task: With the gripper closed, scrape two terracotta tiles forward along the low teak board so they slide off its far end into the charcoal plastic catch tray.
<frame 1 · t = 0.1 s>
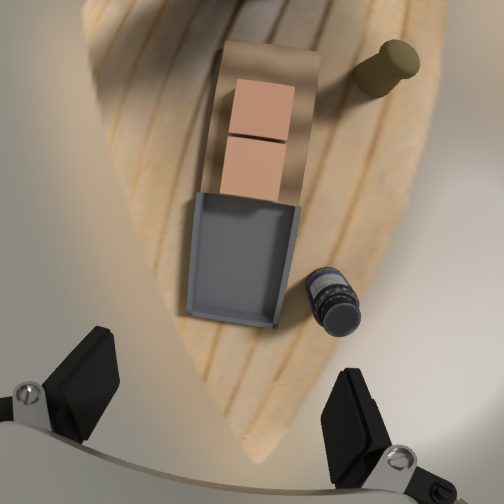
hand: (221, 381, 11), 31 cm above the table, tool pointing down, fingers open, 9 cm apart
pill bottle: (324, 284, 43), on the table
board: (261, 119, 36), on the table
cork: (373, 78, 34), on the table
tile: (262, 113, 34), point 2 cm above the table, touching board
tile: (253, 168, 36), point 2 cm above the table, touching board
tray: (240, 258, 42), on the table
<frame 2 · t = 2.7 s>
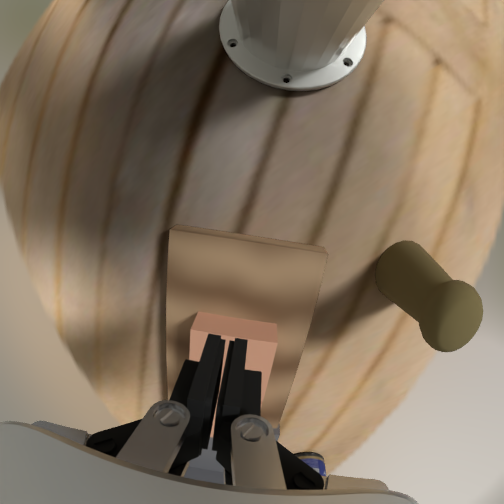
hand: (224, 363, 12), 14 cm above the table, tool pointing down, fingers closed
pill bottle: (303, 459, 35), on the table
board: (234, 341, 28), on the table
cork: (402, 270, 25), on the table
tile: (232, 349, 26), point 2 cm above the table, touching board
tray: (219, 446, 34), on the table
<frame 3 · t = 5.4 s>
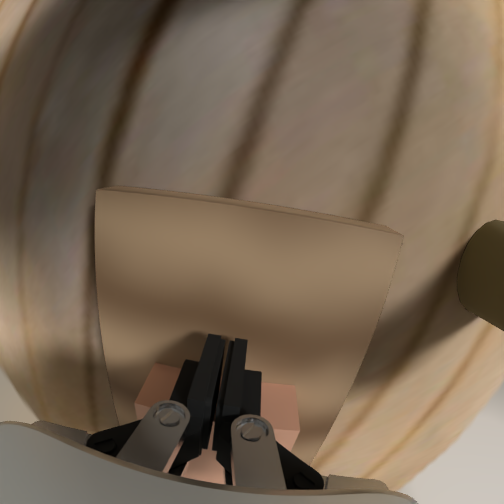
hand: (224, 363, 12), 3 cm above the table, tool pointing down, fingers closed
board: (223, 389, 16), on the table
cork: (489, 267, 13), on the table
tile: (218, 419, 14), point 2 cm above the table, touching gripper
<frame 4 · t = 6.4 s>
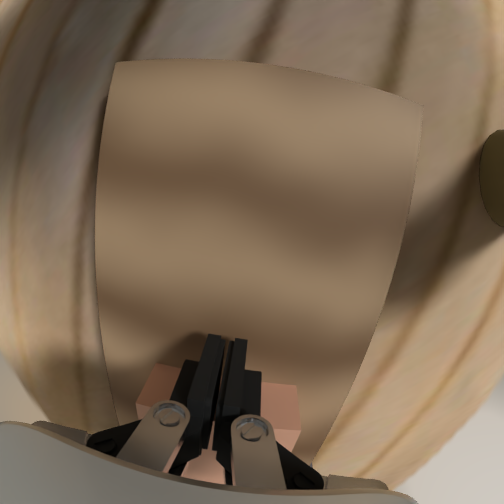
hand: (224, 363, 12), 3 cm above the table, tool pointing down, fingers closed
board: (234, 309, 14), on the table
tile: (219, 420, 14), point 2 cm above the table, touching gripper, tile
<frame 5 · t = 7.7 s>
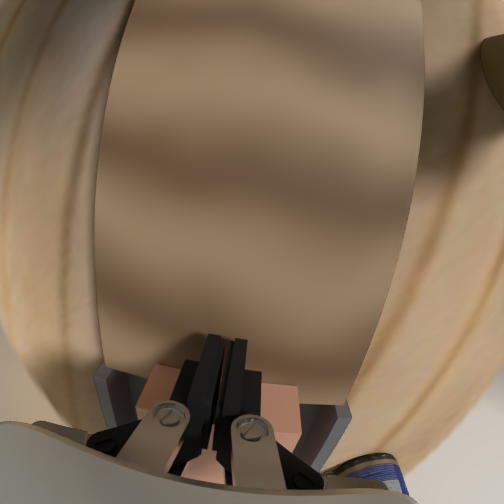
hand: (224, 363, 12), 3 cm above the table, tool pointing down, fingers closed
pill bottle: (363, 467, 19), on the table
board: (255, 164, 12), on the table
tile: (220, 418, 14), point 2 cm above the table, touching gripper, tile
tray: (215, 452, 18), on the table
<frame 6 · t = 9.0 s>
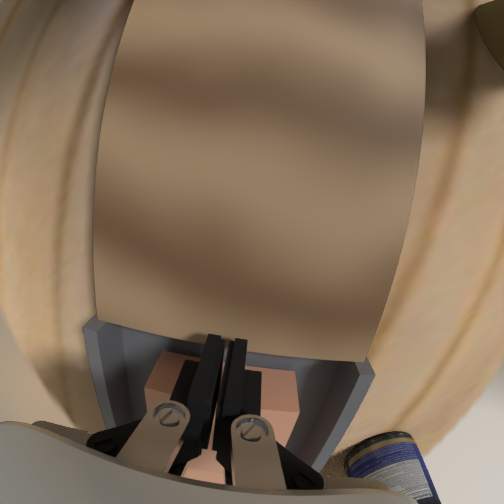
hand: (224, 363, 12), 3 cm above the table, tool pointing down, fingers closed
pill bottle: (378, 449, 18), on the table
board: (266, 96, 11), on the table
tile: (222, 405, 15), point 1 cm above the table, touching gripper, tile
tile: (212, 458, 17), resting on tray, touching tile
tray: (218, 431, 17), on the table
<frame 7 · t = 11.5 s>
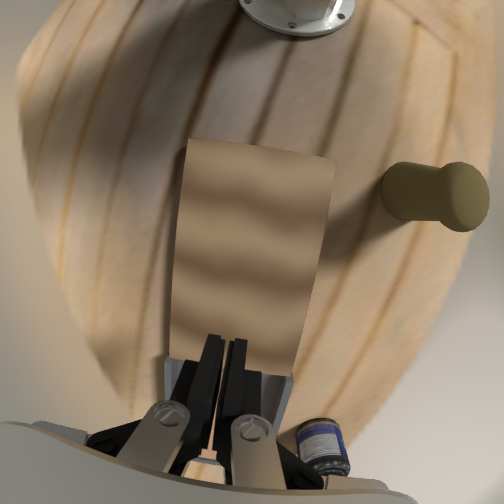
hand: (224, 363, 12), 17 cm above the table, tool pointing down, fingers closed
pill bottle: (317, 429, 33), on the table
board: (244, 264, 28), on the table
cork: (406, 191, 26), on the table
tray: (223, 412, 33), on the table
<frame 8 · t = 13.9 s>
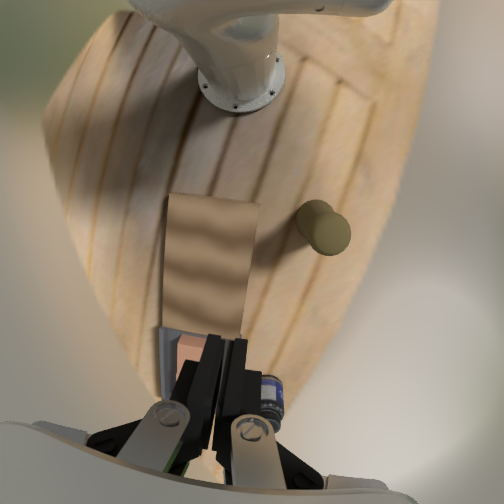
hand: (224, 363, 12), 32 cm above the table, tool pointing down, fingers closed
pill bottle: (266, 384, 51), on the table
board: (207, 267, 45), on the table
cork: (315, 219, 42), on the table
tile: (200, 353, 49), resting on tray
tray: (199, 366, 50), on the table
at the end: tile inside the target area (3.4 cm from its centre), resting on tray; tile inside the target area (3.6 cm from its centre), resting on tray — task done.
